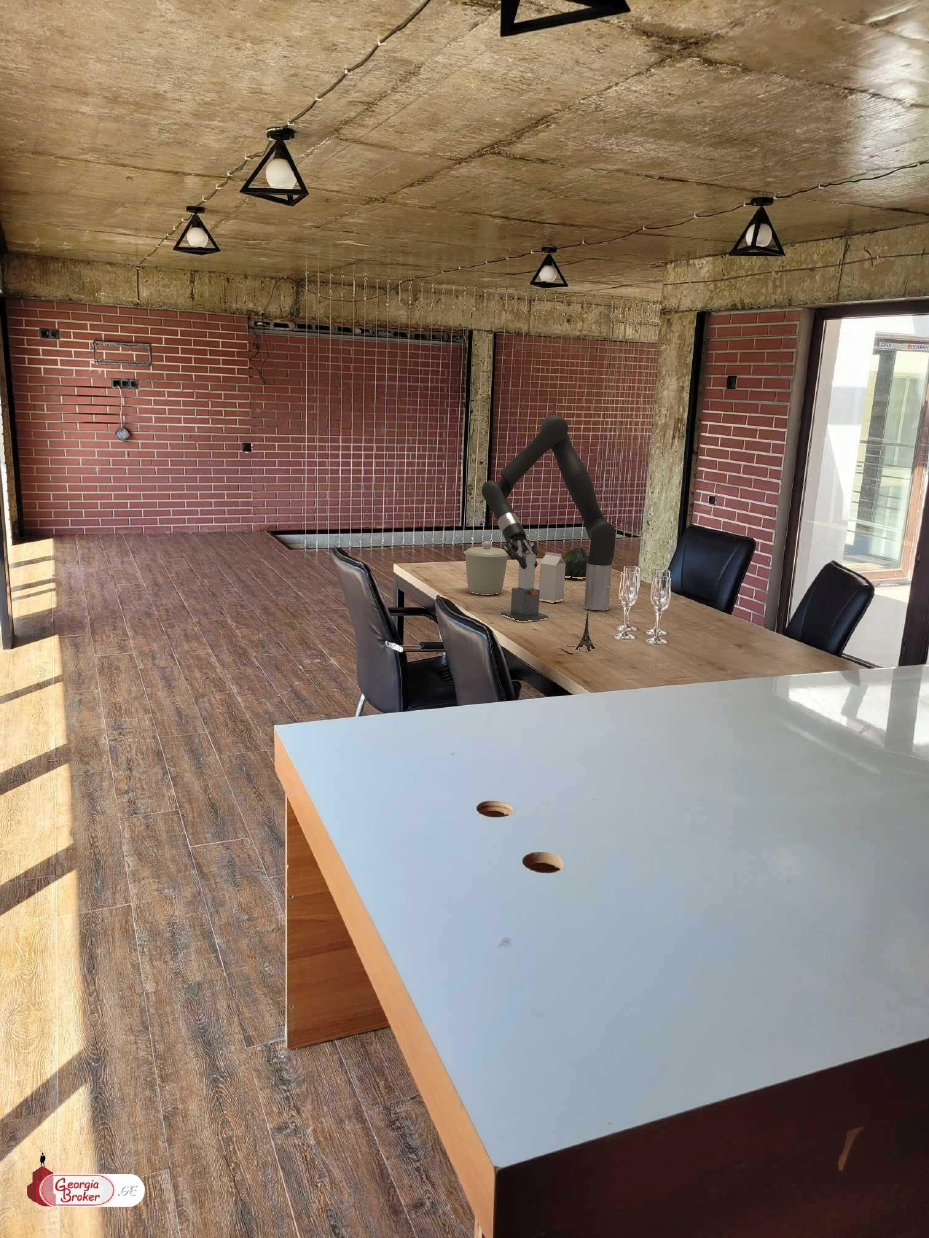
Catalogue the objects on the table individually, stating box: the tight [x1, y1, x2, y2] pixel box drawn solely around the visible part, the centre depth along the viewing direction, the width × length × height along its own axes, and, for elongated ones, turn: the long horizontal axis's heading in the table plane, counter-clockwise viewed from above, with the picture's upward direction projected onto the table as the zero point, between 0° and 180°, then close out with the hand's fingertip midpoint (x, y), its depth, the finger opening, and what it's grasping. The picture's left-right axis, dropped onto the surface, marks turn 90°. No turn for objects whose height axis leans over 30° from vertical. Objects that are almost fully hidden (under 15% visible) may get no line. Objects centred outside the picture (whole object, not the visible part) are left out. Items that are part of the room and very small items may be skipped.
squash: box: [562, 547, 589, 577], centre depth 409 cm, size 14×15×15 cm
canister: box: [463, 540, 510, 594], centre depth 368 cm, size 18×18×21 cm
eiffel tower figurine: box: [566, 611, 595, 652], centre depth 287 cm, size 15×10×13 cm
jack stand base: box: [500, 586, 549, 621], centre depth 328 cm, size 12×12×10 cm
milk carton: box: [538, 551, 566, 601], centre depth 357 cm, size 7×7×19 cm
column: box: [517, 553, 537, 591], centre depth 325 cm, size 4×4×16 cm
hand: (530, 567), depth 323 cm, fingers closed on column, 4 cm apart
